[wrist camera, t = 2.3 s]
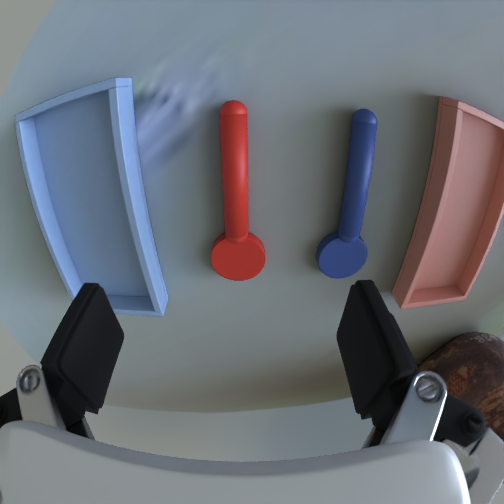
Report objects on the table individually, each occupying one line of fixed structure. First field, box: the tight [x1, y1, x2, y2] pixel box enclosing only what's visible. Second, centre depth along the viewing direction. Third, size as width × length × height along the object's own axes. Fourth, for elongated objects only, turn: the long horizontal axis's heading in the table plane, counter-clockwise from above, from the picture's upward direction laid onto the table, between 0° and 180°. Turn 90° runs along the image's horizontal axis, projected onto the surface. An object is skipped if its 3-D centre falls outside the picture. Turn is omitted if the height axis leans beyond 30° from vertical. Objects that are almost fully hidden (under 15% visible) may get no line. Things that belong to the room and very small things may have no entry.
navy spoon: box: [316, 109, 377, 278], centre depth 17 cm, size 13×4×2 cm, turn 0°
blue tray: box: [14, 78, 168, 317], centre depth 17 cm, size 18×9×2 cm, turn 0°
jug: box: [418, 332, 504, 484], centre depth 23 cm, size 22×21×25 cm
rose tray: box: [392, 96, 504, 309], centre depth 17 cm, size 18×9×2 cm, turn 0°
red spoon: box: [211, 100, 265, 281], centre depth 17 cm, size 13×4×2 cm, turn 0°
